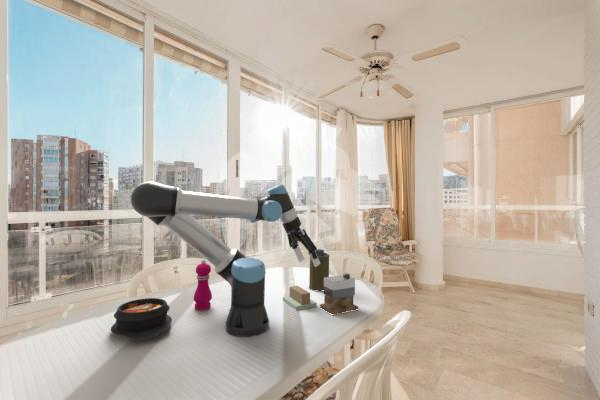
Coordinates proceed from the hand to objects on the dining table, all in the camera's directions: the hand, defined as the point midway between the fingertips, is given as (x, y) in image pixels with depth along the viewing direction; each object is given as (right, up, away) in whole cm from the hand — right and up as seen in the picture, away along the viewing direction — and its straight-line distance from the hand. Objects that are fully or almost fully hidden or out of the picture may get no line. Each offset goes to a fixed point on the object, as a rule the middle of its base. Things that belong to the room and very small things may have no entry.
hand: (309, 262), depth 129 cm
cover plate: (+12, -9, -5) cm, 16 cm away
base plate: (+12, -12, -5) cm, 18 cm away
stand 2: (+12, -18, -5) cm, 23 cm away
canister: (+6, -19, +25) cm, 31 cm away
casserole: (-59, -17, -27) cm, 67 cm away
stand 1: (-5, -18, +1) cm, 19 cm away
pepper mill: (-45, -18, -6) cm, 48 cm away
